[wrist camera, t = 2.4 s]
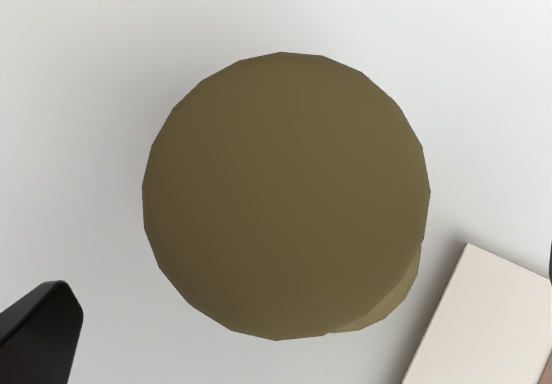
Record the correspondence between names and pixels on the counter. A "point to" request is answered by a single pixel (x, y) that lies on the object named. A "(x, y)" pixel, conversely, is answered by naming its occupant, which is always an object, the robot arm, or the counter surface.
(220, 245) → the cork
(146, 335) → the counter surface
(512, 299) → the picture board
